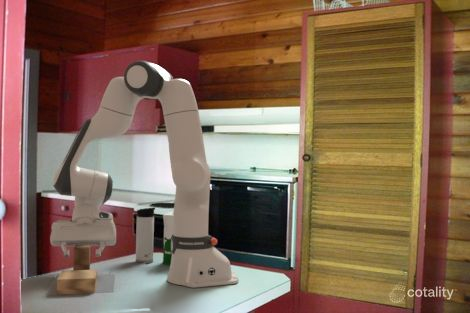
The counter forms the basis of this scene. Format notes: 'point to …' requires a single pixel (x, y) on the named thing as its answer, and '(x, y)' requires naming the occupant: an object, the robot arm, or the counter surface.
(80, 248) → the walnut column
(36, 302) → the counter surface
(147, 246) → the travel mug
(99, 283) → the grey mat
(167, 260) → the milk carton
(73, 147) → the robot arm
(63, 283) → the oak base block
